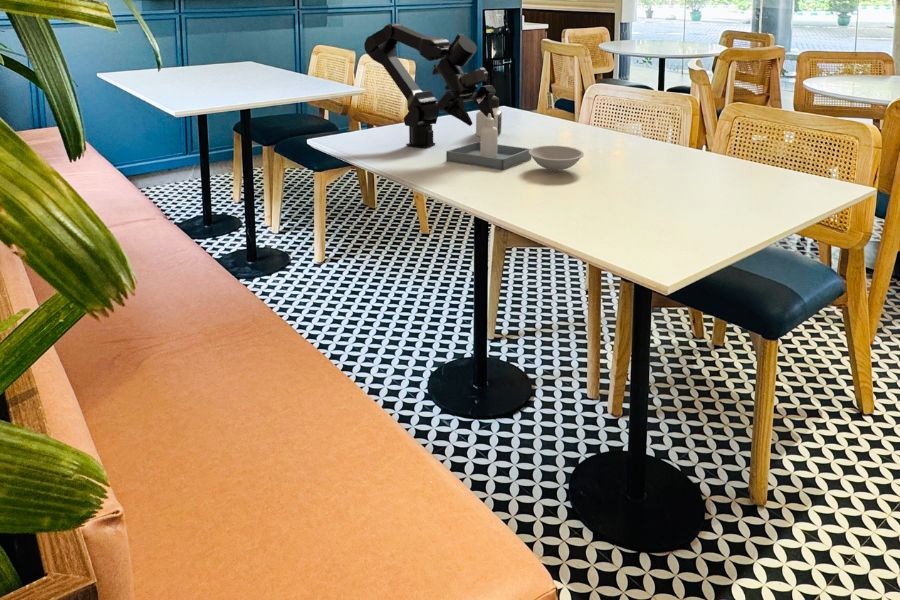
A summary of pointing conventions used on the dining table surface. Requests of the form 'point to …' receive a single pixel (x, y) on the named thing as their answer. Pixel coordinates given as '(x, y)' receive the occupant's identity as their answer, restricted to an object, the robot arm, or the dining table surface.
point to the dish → (556, 157)
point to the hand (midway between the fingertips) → (482, 122)
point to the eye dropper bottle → (489, 138)
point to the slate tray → (503, 160)
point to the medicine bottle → (481, 117)
